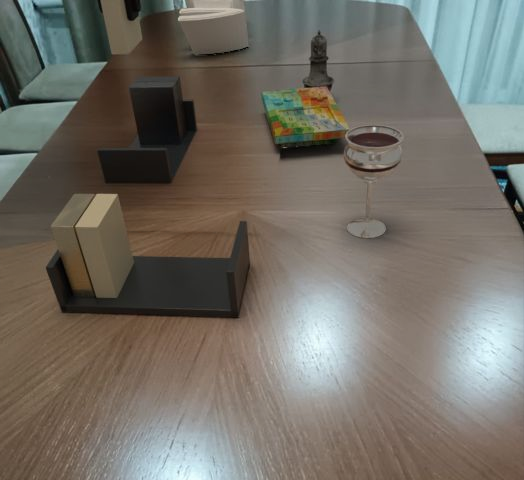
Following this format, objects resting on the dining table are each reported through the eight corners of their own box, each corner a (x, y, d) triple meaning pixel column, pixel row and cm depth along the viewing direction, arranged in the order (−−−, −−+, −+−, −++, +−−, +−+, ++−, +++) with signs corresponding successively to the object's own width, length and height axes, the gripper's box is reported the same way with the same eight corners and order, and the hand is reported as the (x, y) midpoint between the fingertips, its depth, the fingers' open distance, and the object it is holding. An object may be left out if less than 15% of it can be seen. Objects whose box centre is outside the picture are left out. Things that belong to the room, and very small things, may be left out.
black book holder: (61, 312, 64) (32, 234, 57) (90, 261, 71) (68, 186, 64) (238, 318, 62) (230, 237, 55) (250, 265, 69) (244, 188, 62)
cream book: (111, 54, 76) (94, -26, 70) (126, 39, 81) (111, -37, 75) (129, 54, 75) (113, -27, 69) (142, 39, 81) (129, -37, 74)
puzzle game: (326, 81, 102) (351, 123, 87) (325, 108, 105) (349, 153, 90) (261, 86, 101) (274, 130, 87) (262, 113, 105) (275, 160, 90)
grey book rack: (172, 189, 84) (160, 121, 78) (106, 189, 85) (90, 121, 79) (198, 135, 99) (190, 73, 92) (142, 135, 100) (130, 74, 93)
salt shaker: (296, 102, 108) (295, 31, 100) (314, 92, 111) (315, 23, 103) (321, 108, 105) (322, 36, 97) (339, 98, 108) (342, 28, 100)
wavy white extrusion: (248, 58, 129) (245, 5, 122) (175, 62, 130) (168, 9, 123) (249, 20, 155) (247, -26, 148) (189, 23, 156) (183, -23, 149)
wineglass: (398, 219, 75) (410, 128, 67) (385, 246, 70) (395, 151, 62) (349, 211, 77) (354, 121, 69) (332, 236, 73) (336, 143, 65)
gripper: (166, -174, 65) (187, 10, 78) (31, -165, 67) (73, 13, 79) (149, -173, 60) (175, 24, 72) (3, -164, 62) (53, 27, 74)
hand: (122, 17), depth 76 cm, fingers closed on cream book, 2 cm apart
